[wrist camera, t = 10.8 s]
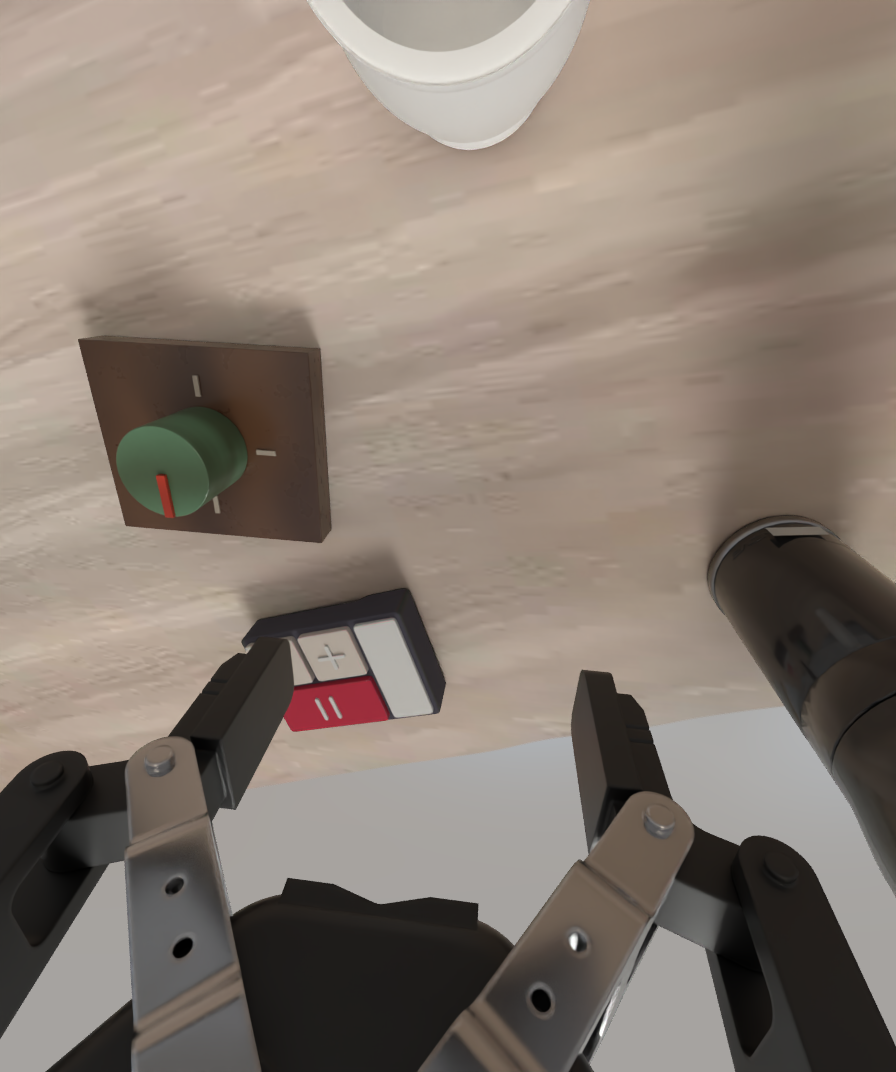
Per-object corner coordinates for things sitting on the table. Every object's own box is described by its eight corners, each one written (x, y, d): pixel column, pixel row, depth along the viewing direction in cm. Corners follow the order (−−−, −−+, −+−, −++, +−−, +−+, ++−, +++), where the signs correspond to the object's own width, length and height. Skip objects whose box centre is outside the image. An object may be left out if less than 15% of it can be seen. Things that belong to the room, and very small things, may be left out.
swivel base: (320, 348, 36) (307, 353, 34) (331, 529, 42) (321, 544, 40) (102, 335, 37) (75, 339, 35) (144, 513, 43) (124, 527, 41)
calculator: (234, 645, 44) (396, 616, 40) (258, 616, 48) (408, 586, 44) (288, 738, 48) (439, 720, 44) (306, 704, 52) (447, 685, 48)
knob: (159, 404, 36) (101, 424, 31) (241, 408, 36) (196, 429, 31) (176, 484, 39) (125, 515, 34) (253, 489, 39) (213, 522, 33)
